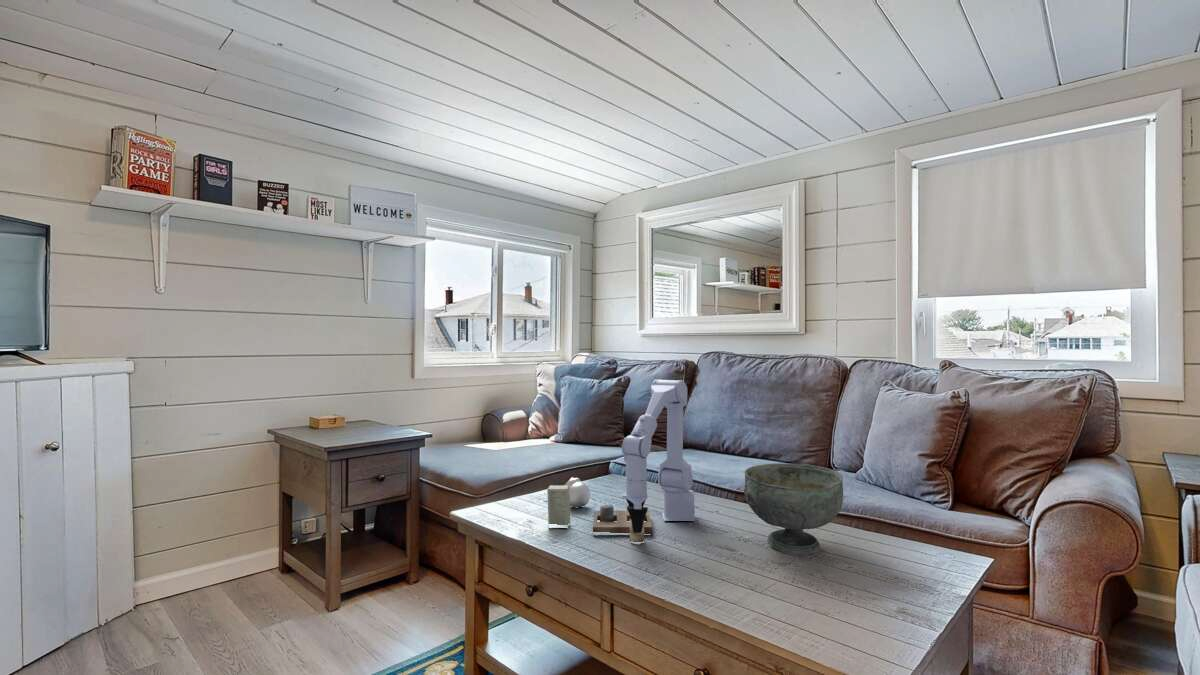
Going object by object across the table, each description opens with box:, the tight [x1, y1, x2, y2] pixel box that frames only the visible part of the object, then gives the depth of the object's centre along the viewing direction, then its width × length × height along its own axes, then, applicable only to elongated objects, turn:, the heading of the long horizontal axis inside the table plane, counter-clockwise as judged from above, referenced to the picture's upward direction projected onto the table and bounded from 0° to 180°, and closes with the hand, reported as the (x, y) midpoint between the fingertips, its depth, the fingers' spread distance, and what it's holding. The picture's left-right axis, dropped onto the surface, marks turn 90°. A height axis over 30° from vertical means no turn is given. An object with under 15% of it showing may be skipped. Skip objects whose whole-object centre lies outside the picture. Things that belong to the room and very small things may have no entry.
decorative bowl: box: [743, 462, 844, 556], centre depth 154 cm, size 26×26×20 cm
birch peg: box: [629, 519, 645, 542], centre depth 159 cm, size 4×4×6 cm
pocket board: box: [592, 504, 653, 535], centre depth 172 cm, size 17×16×6 cm
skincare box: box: [546, 484, 571, 525], centre depth 173 cm, size 6×4×12 cm
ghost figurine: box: [564, 477, 591, 508], centre depth 192 cm, size 9×10×10 cm
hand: (636, 527), depth 159 cm, fingers open, 7 cm apart
